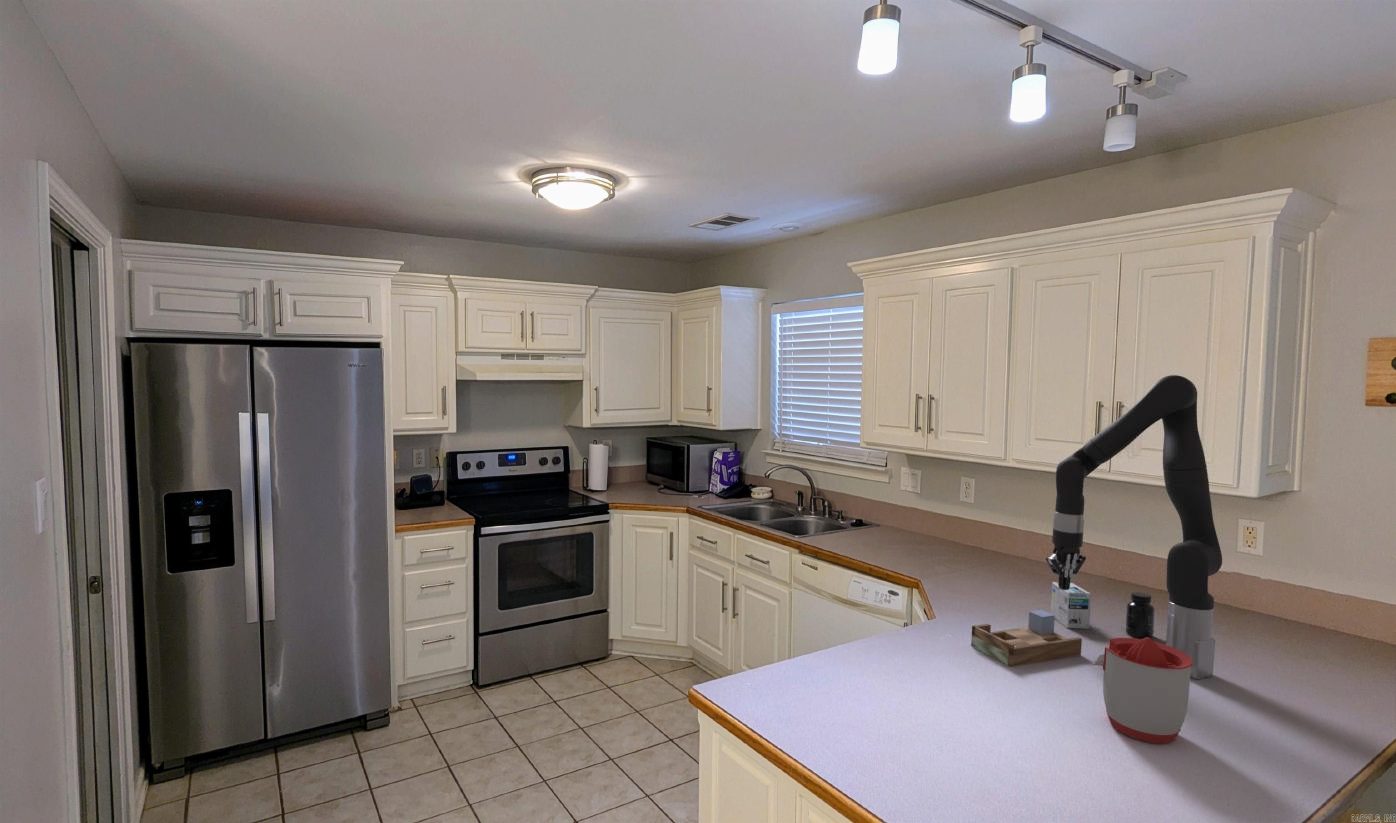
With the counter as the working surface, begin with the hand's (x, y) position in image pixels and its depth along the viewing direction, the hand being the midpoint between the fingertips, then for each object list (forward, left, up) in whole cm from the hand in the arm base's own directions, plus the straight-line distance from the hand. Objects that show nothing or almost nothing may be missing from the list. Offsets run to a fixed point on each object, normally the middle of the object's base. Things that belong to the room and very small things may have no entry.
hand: (1063, 588), depth 196 cm
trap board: (-4, +17, -14) cm, 22 cm away
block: (0, +8, -11) cm, 14 cm away
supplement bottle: (-5, -24, -14) cm, 29 cm away
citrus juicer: (-43, +27, -14) cm, 53 cm away
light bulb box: (+9, -13, -14) cm, 21 cm away
